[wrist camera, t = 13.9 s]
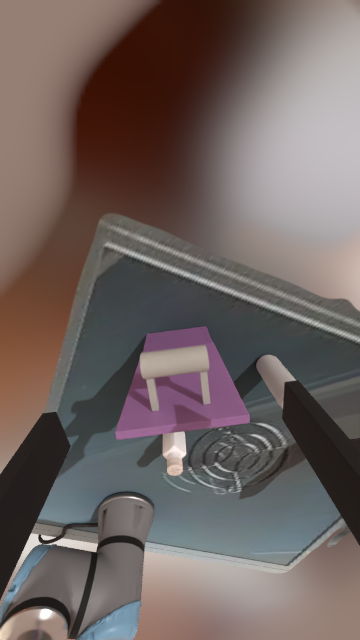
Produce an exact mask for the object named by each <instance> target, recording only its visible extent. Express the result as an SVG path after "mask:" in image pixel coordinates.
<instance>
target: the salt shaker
mask: <svg viewBox="0 0 360 640" xmlns="http://www.w3.org/2000/svg"><path fill="white" fill-rule="evenodd" d="M185 455H186V443H185V433H184V431H182V432H175V433H167V434H163V456H164V457H165V458H166V459H167V472H168V473H169V475H172V476H177V475H179V474H181V473H182V471H183V466H182V458H183V457H184V456H185Z"/></svg>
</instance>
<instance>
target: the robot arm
mask: <svg viewBox="0 0 360 640" xmlns="http://www.w3.org/2000/svg"><path fill="white" fill-rule="evenodd" d="M282 419H283V421H284V422H285V424H286V426H287V427H288V429H289V431H290V432H291V434H292V435H293V437H294V439H295V440H296V442H297V444H298V445H299V447H300V449H301V450H302V452H303V453H304V455H305V457H306V458H307V460H308V462H309V463H310V465H311V467H312V468H313V470H314V471H315V473H316V475H317V476H318V478H319V480H320V481H321V483H322V485H323V486H324V488H325V489H326V491H327V493H328V494H329V496H330V498H331V499H332V501H333V503H334V504H335V506H336V508H337V509H338V511H339V512H340V514H341V516H342V517H343V519H344V521H345V522H346V524H347V526H348V527H349V529H350V530H351V532H352V533H353V535H354V537H355V538H356V540H357V542H358V543H359V545H360V438H358V439H349V438H348V437H347V436H346V434H345V433H344V432H343V431H342V430H341V429H340V428H339V427H338V425H337V424H336V423H335V422H334V421H333V420H332V419H331V417H330V416H329V415H328V414H327V413H326V412H325V411H324V409H323V408H322V407H321V406H320V405H319V404H318V403H317V401H316V400H315V399H314V398H313V397H312V396H311V395H310V393H309V392H308V391H307V390H306V389H305V388H304V387H303V385H302V384H301V383H300V382H299V381H298V380H296V381H288V382H285V383H284V399H283V415H282ZM70 447H71V446H70V444H69V441H68V439H67V437H66V434H65V432H64V429H63V427H62V425H61V422H60V420H59V418H58V415H57V413H56V412H51V413H43V414H42V415H41V417H40V418H39V420H38V421H37V422H36V424H35V425H34V427H33V428H32V430H31V431H30V433H29V434H28V435H27V437H26V439H25V440H24V441H23V443H22V444H21V445H20V447H19V449H18V450H17V452H16V453H15V454H14V456H13V457H12V458H11V460H10V461H9V463H8V464H7V466H6V467H5V468H4V470H3V471H2V473H1V474H0V599H1V597H2V595H3V593H4V591H5V588H6V586H7V584H8V582H9V580H10V577H11V575H12V573H13V571H14V569H15V567H16V564H17V562H18V560H19V558H20V556H21V554H22V551H23V549H24V547H25V545H26V543H27V540H28V538H29V536H30V534H31V532H32V530H33V527H34V525H35V523H36V521H37V519H38V516H39V514H40V512H41V510H42V508H43V506H44V503H45V501H46V499H47V497H48V495H49V492H50V490H51V488H52V486H53V484H54V482H55V479H56V477H57V475H58V473H59V471H60V468H61V466H62V464H63V462H64V460H65V458H66V455H67V453H68V451H69V449H70ZM153 516H154V506H153V503H152V502H151V501H150V500H149V499H148V498H147V497H145V496H143V495H141V494H138V493H133V492H121V493H116V494H113V495H110V496H108V497H107V498H105V499H104V500H103V501H102V503H101V505H100V508H99V512H98V523H86V524H70V525H67V526H66V527H64V529H63V532H62V535H60V536H59V537H56V538H54V539H51V540H43V539H42V538H41V535H38V539H39V541H40V542H41V543H42V544H41V545H38V546H36V547H34V548H33V549H32V550H31V552H30V553H29V554H28V556H27V557H26V559H25V560H24V562H23V564H22V566H21V567H20V569H19V571H18V573H17V574H16V577H15V578H14V580H13V582H12V585H11V587H10V589H9V590H8V593H7V594H6V596H5V598H4V600H3V602H2V604H1V606H0V640H67V639H75V640H133V639H134V637H135V635H136V632H137V629H138V621H139V611H140V607H141V589H142V576H143V561H144V548H145V542H146V539H147V536H148V533H149V530H150V527H151V524H152V521H153ZM72 527H98V547H97V552H90V551H84V550H79V549H74V548H68V547H63V546H57V545H56V544H55V545H54V544H53V545H44V544H49V543H52V542H55V541H57V540H59V539H61V538H63V536H64V535H65V531H66V529H68V528H72Z"/></svg>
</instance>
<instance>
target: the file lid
mask: <svg viewBox="0 0 360 640" xmlns="http://www.w3.org/2000/svg"><path fill="white" fill-rule="evenodd" d="M245 423H250V419H249V413H248V411H247V409H246V407H245V405H244V403H243V401H242V399H241V397H240V395H239V393H238V391H237V389H236V387H235V385H234V383H233V381H232V379H231V377H230V375H229V373H228V371H227V369H226V367H225V365H224V363H223V361H222V359H221V357H220V355H219V353H218V351H217V349H216V347H215V345H214V343H207V344H199V345H191V346H184V347H176V348H168V349H160V350H153V351H145V352H142V353H141V354H140V359H139V362H138V365H137V368H136V371H135V374H134V377H133V380H132V383H131V386H130V389H129V392H128V395H127V398H126V401H125V404H124V407H123V410H122V413H121V416H120V419H119V422H118V425H117V428H116V431H115V434H116V438H117V440H120V439H128V438H136V437H144V436H151V435H159V434H167V433H175V432H182V431H190V430H198V429H206V428H214V427H221V426H229V425H237V424H245Z"/></svg>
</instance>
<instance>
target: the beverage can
mask: <svg viewBox="0 0 360 640" xmlns="http://www.w3.org/2000/svg"><path fill="white" fill-rule="evenodd" d="M256 367H257V370H258V372H259V373H260V375H261V377H262V378H263V380H264V381H265V383H266V385H267V386H268V388H269V390H270V391H271V393H272V394H273V396H274V398H275V399H276V401H277V402H278V404H279V405H280V407H281V408H282V409H283V399H284V383H285V382H288V381H296V380H295V379H294V377H293V376H292V375H291V374H290V373H289V372H288V370H287V369H286V368H285V367H284V366H283V365H282V363H281V362H280V361H279V360H278V359H277V358H276V357H275V356H273V355H264V356H262V357H261V358H259V360H258V361H257V364H256Z"/></svg>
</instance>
